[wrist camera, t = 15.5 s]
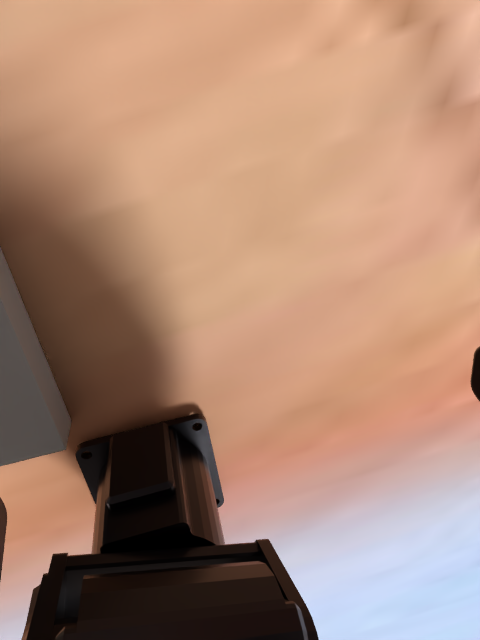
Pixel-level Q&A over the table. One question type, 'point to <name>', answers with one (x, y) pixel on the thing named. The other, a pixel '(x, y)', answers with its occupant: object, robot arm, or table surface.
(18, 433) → the board
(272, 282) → the table surface
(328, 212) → the table surface
